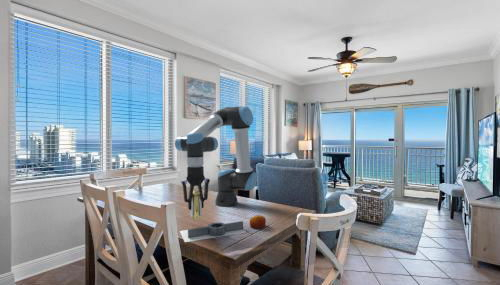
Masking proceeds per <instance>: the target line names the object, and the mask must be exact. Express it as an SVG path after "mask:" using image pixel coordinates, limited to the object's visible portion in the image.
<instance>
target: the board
mask: <svg viewBox="0 0 500 285" xmlns="http://www.w3.org/2000/svg"><path fill="white" fill-rule="evenodd" d="M179 233H180V235H181V237H182V239H183V241H184V243H191V242H196V241H203V240H207V239H214V238H220V237H226V236H233V235H237V234H244V233H245V234H246V233H247V231H246V230H245V229H243V230H236V231H230V232H226V233H225V234H224V235H222V236H217V237H215V236H209V235H205V236H198V237H192V238H188V229H184V230H179Z"/></svg>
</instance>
